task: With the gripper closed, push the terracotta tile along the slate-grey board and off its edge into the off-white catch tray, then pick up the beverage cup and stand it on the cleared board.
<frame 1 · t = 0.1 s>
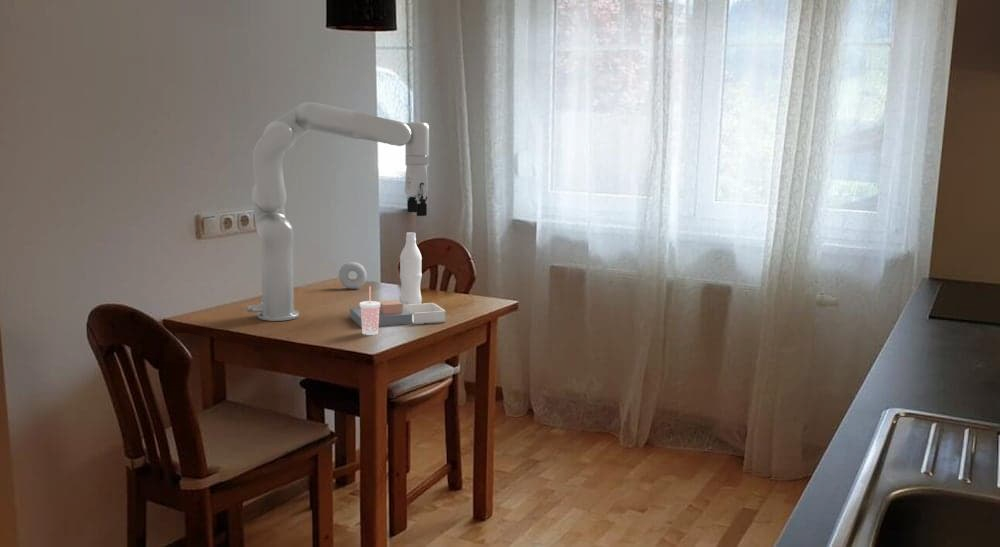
hand: (416, 213, 290), 31 cm above the table, tool pointing down, fingers open, 9 cm apart
terracotta tile: (390, 311, 276), point 3 cm above the table, touching slate board
water bottle: (410, 308, 295), on the table
donut: (352, 289, 323), on the table
slate board: (380, 320, 277), on the table
catch tray: (424, 318, 281), on the table
beverage cup: (370, 333, 262), on the table
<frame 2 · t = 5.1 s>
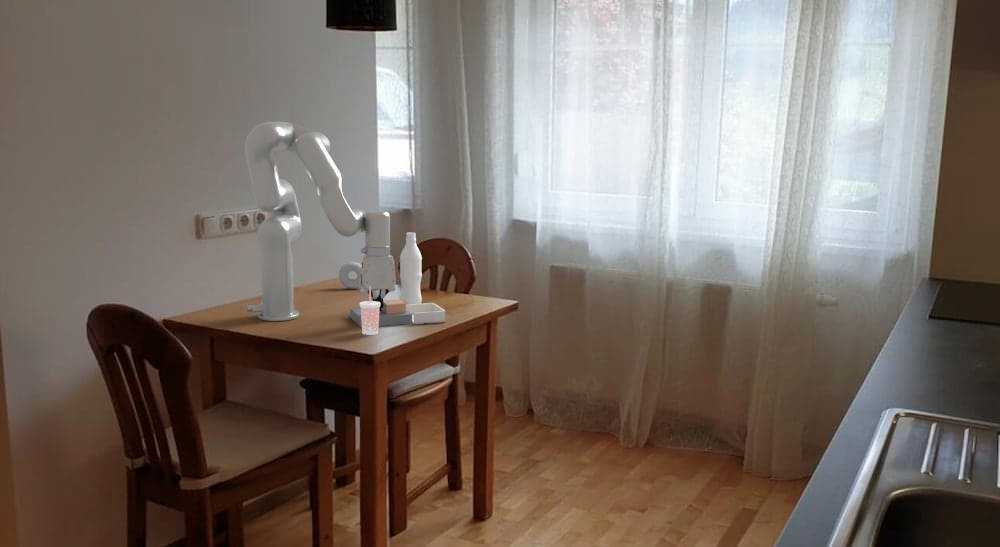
hand: (377, 310, 274), 4 cm above the table, tool pointing down, fingers closed
terracotta tile: (393, 311, 276), point 3 cm above the table, touching gripper
everything else where it was.
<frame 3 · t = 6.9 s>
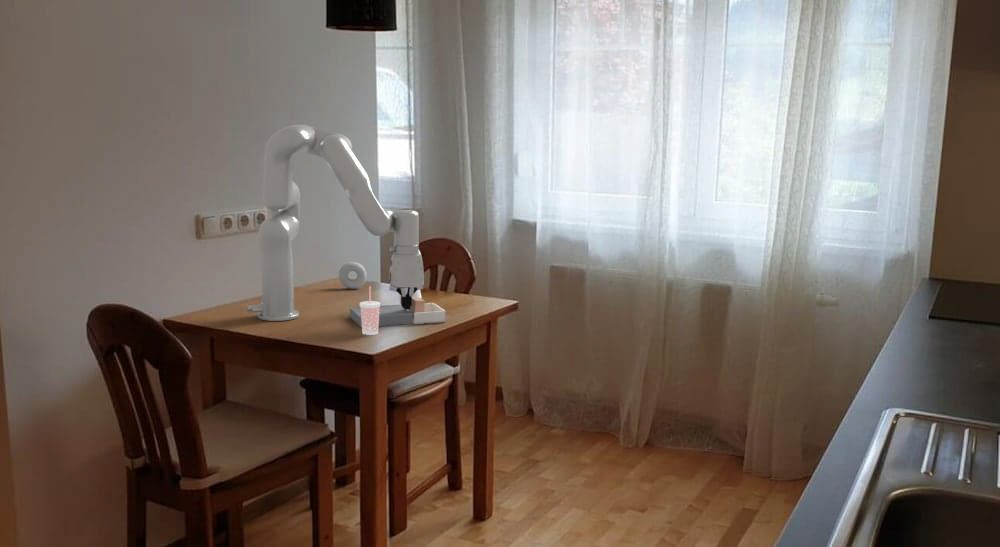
hand: (406, 308, 278), 4 cm above the table, tool pointing down, fingers closed
terracotta tile: (412, 308, 279), point 4 cm above the table, tilted 93°, touching catch tray, gripper
everything else where it was.
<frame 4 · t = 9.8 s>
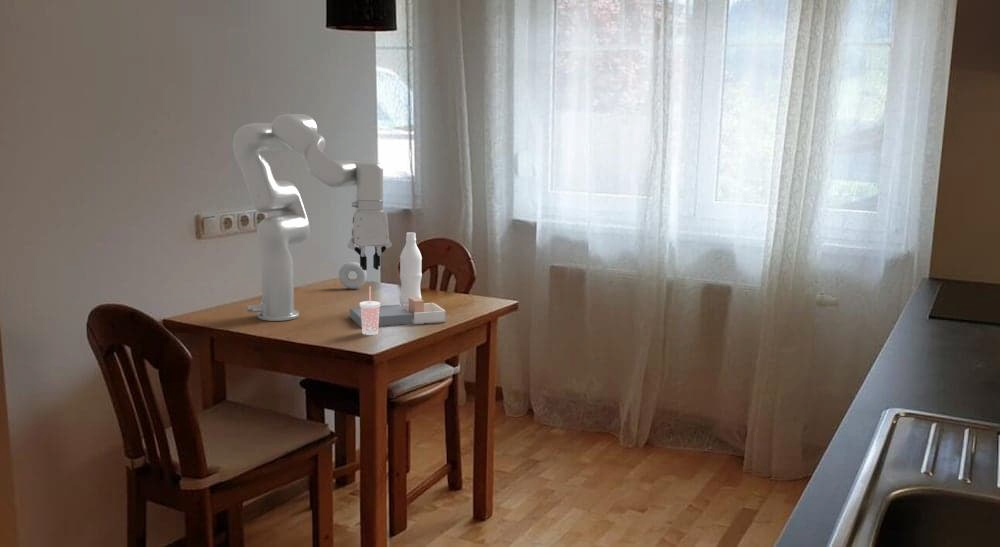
hand: (370, 268, 258), 19 cm above the table, tool pointing down, fingers closed
terracotta tile: (411, 308, 279), point 3 cm above the table, tilted 90°, touching catch tray
everything else where it was.
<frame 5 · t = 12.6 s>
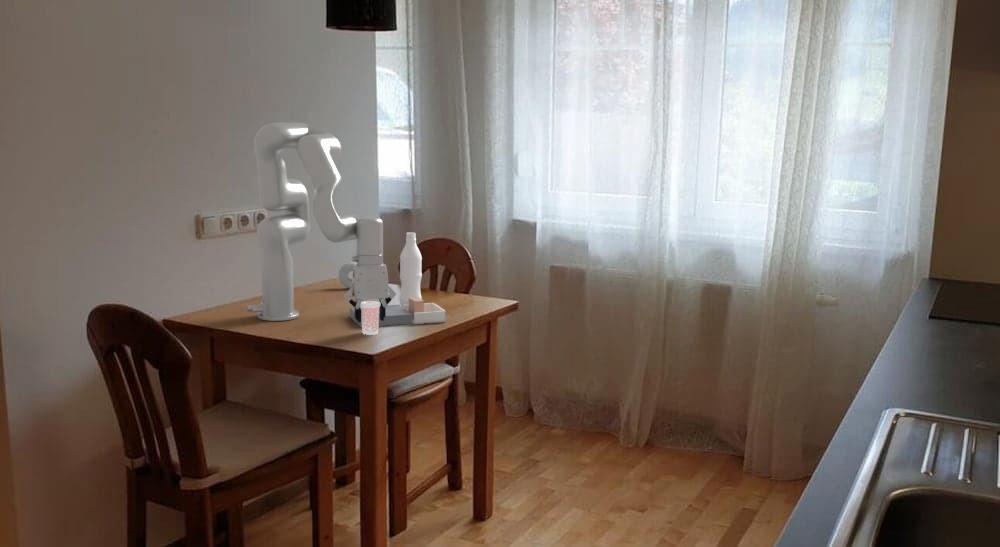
hand: (370, 319, 261), 4 cm above the table, tool pointing down, fingers closed on beverage cup, 6 cm apart
beverage cup: (370, 333, 262), on the table, touching gripper
everything else where it was.
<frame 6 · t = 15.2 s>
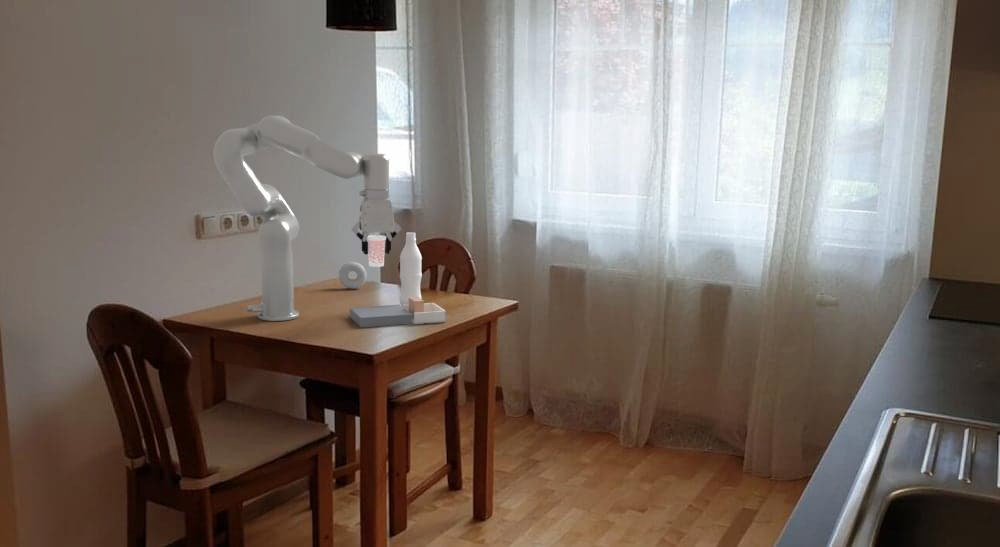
hand: (376, 252, 274), 21 cm above the table, tool pointing down, fingers closed on beverage cup, 6 cm apart
beverage cup: (376, 266, 275), point 17 cm above the table, touching gripper
everything else where it was.
when the fingers open (8 cm above the table, at t = 18.1 s): beverage cup stays where it is, resting on slate board.
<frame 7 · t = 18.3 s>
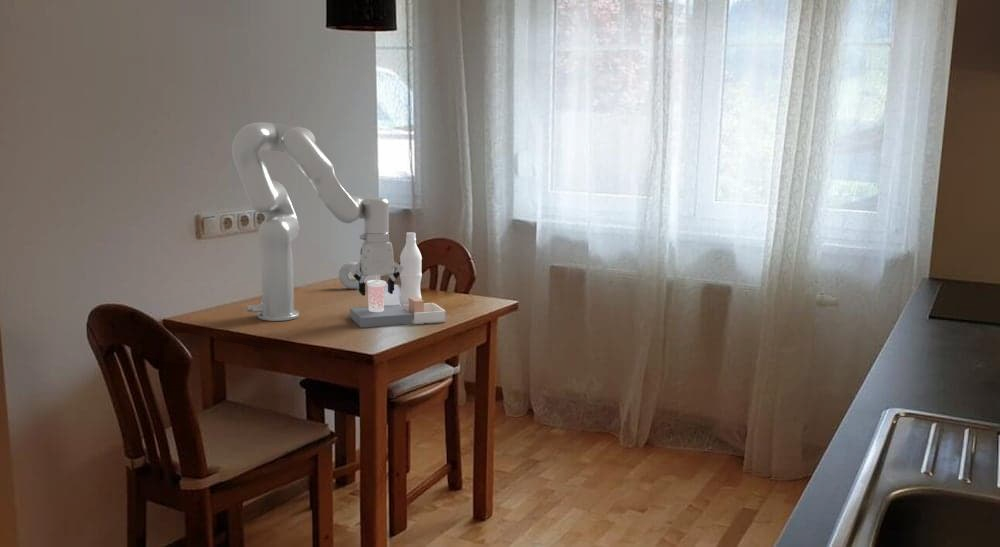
hand: (376, 293, 276), 8 cm above the table, tool pointing down, fingers open, 8 cm apart
beverage cup: (376, 310, 277), point 3 cm above the table, touching slate board
everything else where it was.
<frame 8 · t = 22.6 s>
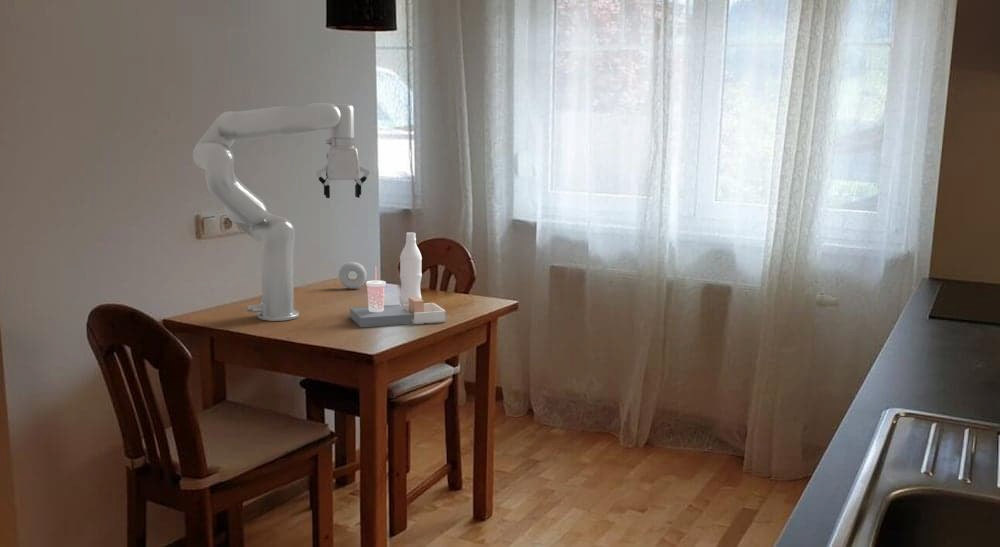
hand: (342, 197, 286), 36 cm above the table, tool pointing down, fingers open, 9 cm apart
nothing on the table moved.
at the end: terracotta tile inside the target area on the catch tray (4.0 cm from its centre), point 3.4 cm above the catch tray's base; beverage cup inside the target area on the slate board (1.6 cm from its centre), point 2.8 cm above the slate board's base; beverage cup tilted 0° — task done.
